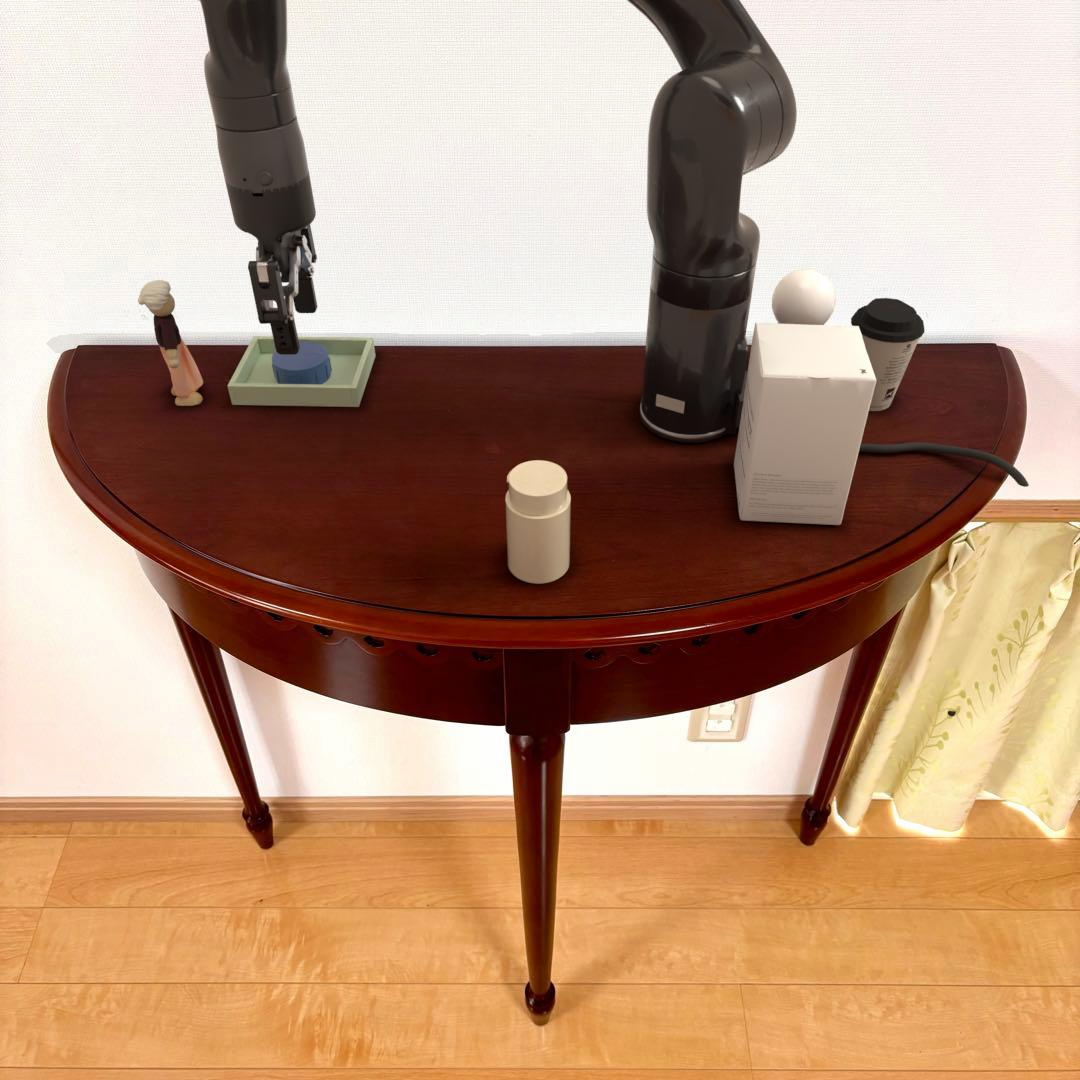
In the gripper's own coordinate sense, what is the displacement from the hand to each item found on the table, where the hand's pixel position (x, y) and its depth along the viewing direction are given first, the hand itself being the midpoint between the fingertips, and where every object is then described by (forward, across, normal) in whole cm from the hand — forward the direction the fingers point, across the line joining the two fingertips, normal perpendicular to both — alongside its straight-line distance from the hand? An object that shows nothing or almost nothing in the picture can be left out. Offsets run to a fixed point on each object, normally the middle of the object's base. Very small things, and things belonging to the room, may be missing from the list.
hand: (298, 331), depth 98 cm
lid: (+4, -1, -1) cm, 4 cm away
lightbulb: (+7, -4, +52) cm, 52 cm away
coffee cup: (+7, +2, +58) cm, 59 cm away
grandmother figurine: (+6, +2, -12) cm, 14 cm away
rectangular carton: (+7, +18, +47) cm, 51 cm away
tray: (+6, -1, 0) cm, 6 cm away
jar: (+7, +27, +25) cm, 38 cm away
